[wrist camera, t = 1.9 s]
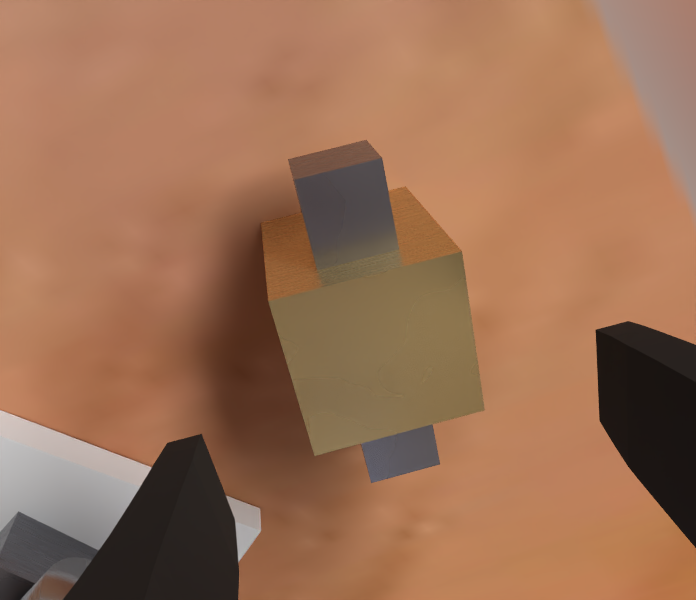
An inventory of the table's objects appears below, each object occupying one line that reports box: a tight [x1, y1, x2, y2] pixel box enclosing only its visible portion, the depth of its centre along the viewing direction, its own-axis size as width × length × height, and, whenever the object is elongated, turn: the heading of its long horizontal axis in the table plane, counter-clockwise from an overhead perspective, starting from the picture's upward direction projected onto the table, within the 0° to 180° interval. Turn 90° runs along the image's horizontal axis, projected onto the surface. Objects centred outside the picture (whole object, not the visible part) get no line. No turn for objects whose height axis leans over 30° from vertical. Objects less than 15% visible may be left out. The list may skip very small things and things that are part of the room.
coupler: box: [261, 140, 485, 483], centre depth 16 cm, size 4×8×5 cm, turn 12°
